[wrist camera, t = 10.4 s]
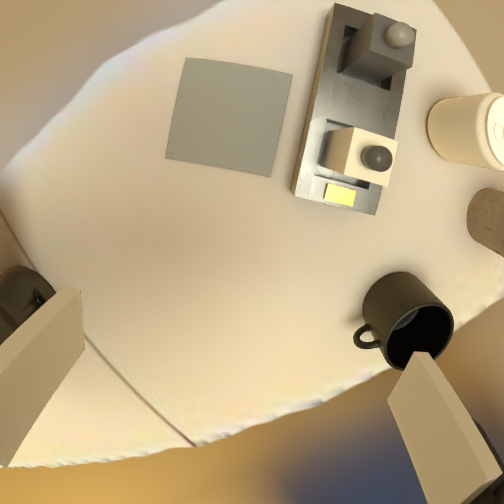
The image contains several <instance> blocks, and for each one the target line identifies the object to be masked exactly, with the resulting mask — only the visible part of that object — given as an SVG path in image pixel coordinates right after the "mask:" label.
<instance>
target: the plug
mask: <svg viewBox="0 0 504 504" xmlns="http://www.w3.org/2000/svg"><path fill="white" fill-rule="evenodd" d="M397 145H398V141H396V140H393V139H390V138H387V137H384V136H381V135H378V134H375V133H372V132H369V131H366V130H363V129H360V128H356V127H351V128H344V129H337V130H331V131H328V132H327V137H326V141H325V146H324V150H323V155H322V159H321V163H320V166H322V167H324V168H327V169H330V170H332V171H335V172H338V173H340V174H343V175H347V176H350V177H354V178H357V179H361V180H364V181H368V182H371V183H375V184H378V185H382V186H385V187H388V183H389V179H390V175H391V171H392V167H393V163H394V159H395V154H396V150H397Z"/></svg>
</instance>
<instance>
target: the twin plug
mask: <svg viewBox="0 0 504 504" xmlns="http://www.w3.org/2000/svg"><path fill="white" fill-rule="evenodd" d="M415 40H416V29H414V28H412V27H410V26H409V25H407V24H406V23H403V22H398V21H396V20H393V19H391V18H388V17H386V16H383V15H380V14H378V13H374V14H373V15H372V16H371V17H370V18H369V19H368V20H367V21H366V22H365V23H364V25H363V26H362V27H361V28H360V29H359V30H358V31H357V32H356V33H355V34H354V35H353V36H352V37H351V38H350V39H349V40H348V41H347V42H346V45H345V50H344V55H343V61H342V66H341V71H340V74H344V75H347V76H350V77H353V78H356V79H360V80H363V81H366V82H368V83H371V84H375V83H377V82H379V81H381V80H383V79H386V78H388V77H390V76H392V75H395V74H397V73H399V72H402V71H404V70H406V69H409V68H411V67H412V64H413V56H414V48H415Z"/></svg>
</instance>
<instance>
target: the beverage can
mask: <svg viewBox="0 0 504 504" xmlns="http://www.w3.org/2000/svg"><path fill="white" fill-rule="evenodd" d="M428 134H429V138H430V141H431V143H432V145H433V147H434V149H435V150H436V151H437V153H438V154H439V155H440V156H442V157H443V158H444V159H446V160H448V161H452V162H458V163H463V164H469V165H474V166H479V167H484V168H489V169H494V170H498V171H504V95H503V94H500V93H487V94H479V95H471V96H463V97H456V98H450V99H444V100H441V101H439V102H438V103H436V104H435V105H434V107H433V108H432V110H431V112H430V114H429V118H428Z"/></svg>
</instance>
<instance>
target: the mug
mask: <svg viewBox="0 0 504 504" xmlns="http://www.w3.org/2000/svg"><path fill="white" fill-rule="evenodd" d="M363 316H364V320H365V322H366V324H365V325H364V326H362V327H360V328H359V329H358V330H357V331H356V332H355V334H354V336H353V340H354V344H355V345H356V346H357V347H359V348H361V349H372V348H378V347H379V348H380V350H381V352H382V354H383V356H384V358H385V360H386V362H387V363H388V364H389V365H390V366H391V367H393V368H394V369H397V370H401V371H404V370H405V368H406V366H407V364H408V362H409V360H410V358H411V357H412V355H413V353H414V351H415V352H428V353H429V354H430V356H431V357H432V359H433V360H435V359H436V358H437V357H438V356H439V355H440V354H441V353H442V352H443V351H444V350H445V348H446V347H447V345H448V343H449V341H450V339H451V336H452V334H453V329H454V320H453V316H452V313H451V312H450V310H449V309H448V308H447V307H446V306H445V305H444V304H443V303H442V302H441V301H440V300H439V299H438V298H437V297H436V296H435V295H434V294H433V293H432V292H431V291H430V290H429V289H428V288H427V287H426V286H425V285H424V284H423V283H422V282H421V281H420V280H419V279H418V278H417V277H415V276H414V275H412V274H409V273H394V274H390V275H388V276H386V277H384V278H382V279H381V280H379V281H378V282H377V283H376V284H375V285H374V286H373V287H372V288H371V289H370V291H369V292H368V294H367V296H366V299H365V302H364V306H363ZM366 331H367V332H368V331H371V333H372V335H373V337H374V339H375V340H374V341H372V342H363V341H361V340H360V336H361V335H362V334H363V333H364V332H366Z"/></svg>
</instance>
